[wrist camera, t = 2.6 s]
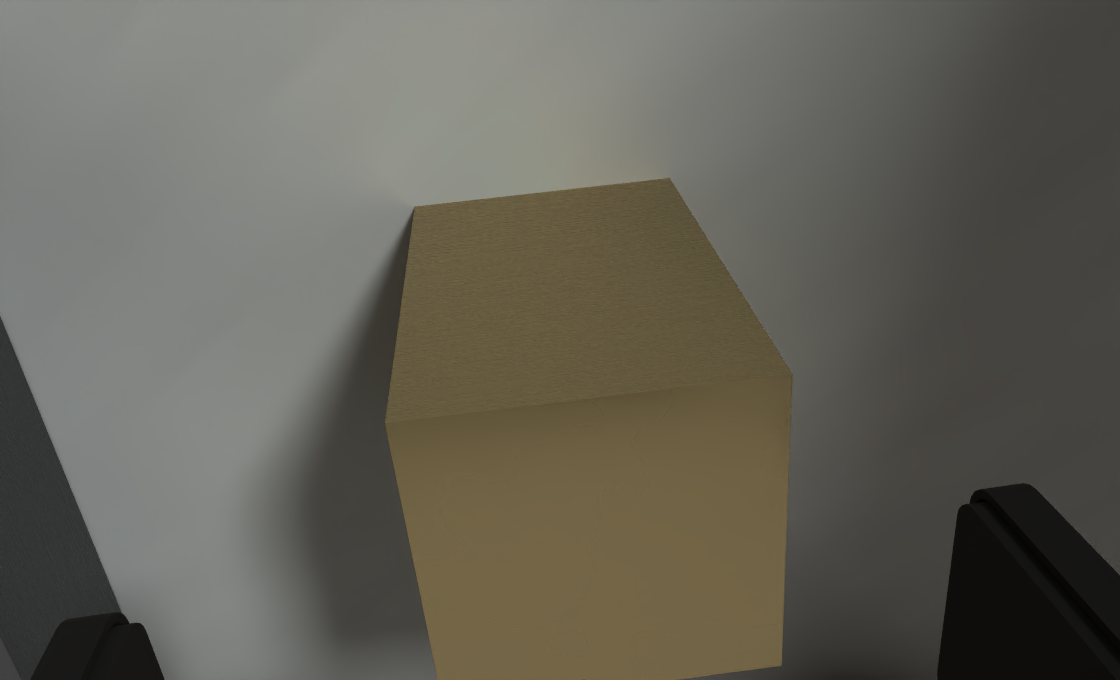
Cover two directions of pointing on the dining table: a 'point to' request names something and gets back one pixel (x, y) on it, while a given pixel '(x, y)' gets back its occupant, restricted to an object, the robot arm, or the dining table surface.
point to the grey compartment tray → (38, 533)
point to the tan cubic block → (588, 441)
